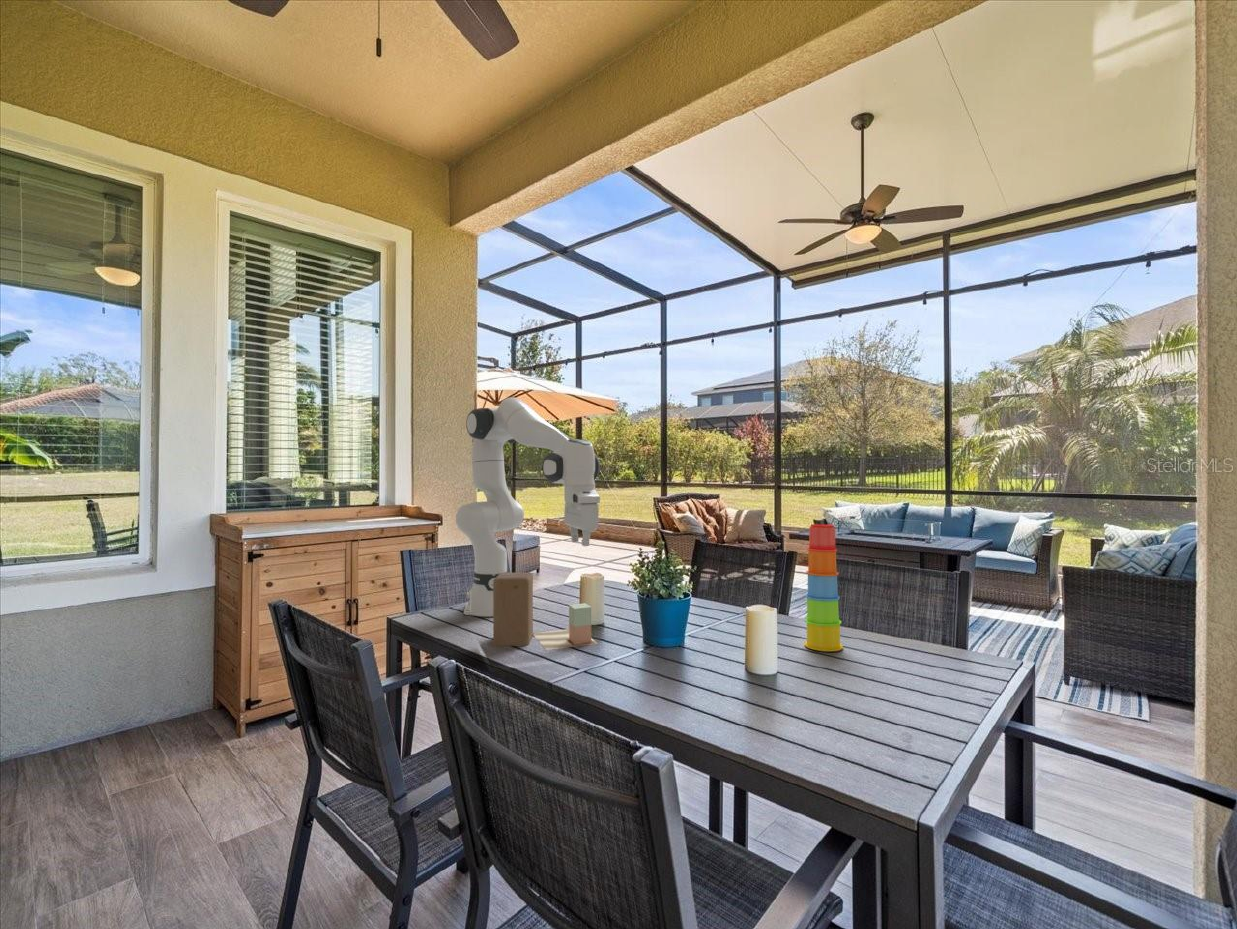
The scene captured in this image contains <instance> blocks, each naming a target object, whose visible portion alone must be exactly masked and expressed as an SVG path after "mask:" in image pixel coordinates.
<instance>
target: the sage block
mask: <svg viewBox="0 0 1237 929" xmlns="http://www.w3.org/2000/svg"><path fill="white" fill-rule="evenodd" d="M569 622H570V623H571V624H572V625H573V626H574V627H575V626H584V625H591V626H592V606H590V605H589V604H587V603H585V602H584V603H573V604H569V605H568V623H569Z"/></svg>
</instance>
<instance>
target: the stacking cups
mask: <svg viewBox="0 0 1237 929" xmlns="http://www.w3.org/2000/svg"><path fill="white" fill-rule="evenodd" d="M834 526H835V525H834V524H826V523H825V524H823V523H822V524H819V523H815V524H813V523H811V524H810V526H809V531H808V532H809V533H808V534H809V537H808V538H809V539H808V540H809V541H808V542H809V544H808V547H807V548H806V549H807V551H808V554H807V556H808V557H807V558H808V562H807V564H808V566H807V568H808V570H806V571H805V573H806V574H807V594H805V598H806V604H807V605H806V614H807V615H806V618H805V619H804V623H806V641H805V642H804V646H805V647H806V648H807V649H811V650H813V651H819V652H828V653H829V652H831V653H832V652H839V651H841V650H843V649H844V646H843V645H842V644H841V630H840V629H841V628H840V625H841V624H842V621H841V620H840V615H839V614H840V613H839V611H840V610H839V600H840V596H839V595H838V592H839V591H838V575H839V572H838V571H837V551H838V549H837V547H836V527H834Z"/></svg>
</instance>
